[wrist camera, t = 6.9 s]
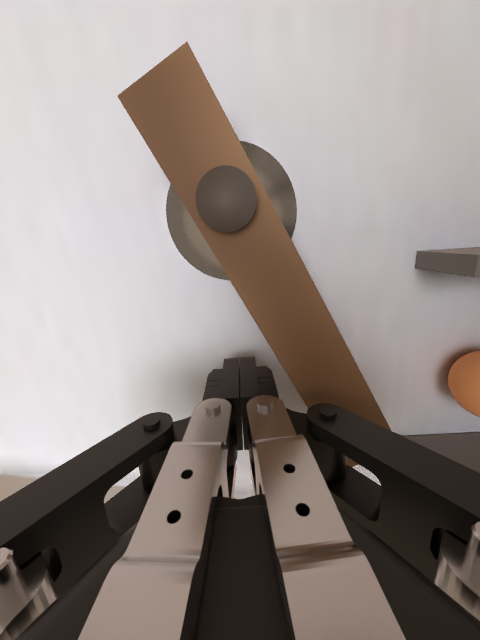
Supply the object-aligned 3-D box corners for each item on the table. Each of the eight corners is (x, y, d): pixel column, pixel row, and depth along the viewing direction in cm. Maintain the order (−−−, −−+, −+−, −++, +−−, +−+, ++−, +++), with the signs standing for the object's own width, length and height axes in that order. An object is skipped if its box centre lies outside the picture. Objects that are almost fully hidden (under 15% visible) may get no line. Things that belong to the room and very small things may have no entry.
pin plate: (295, 137, 12) (296, 135, 11) (295, 275, 13) (296, 275, 13) (158, 147, 12) (157, 145, 12) (176, 282, 14) (175, 283, 13)
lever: (205, 109, 11) (182, 24, 7) (358, 392, 15) (407, 457, 10) (158, 144, 12) (107, 84, 7) (319, 412, 15) (351, 481, 11)
